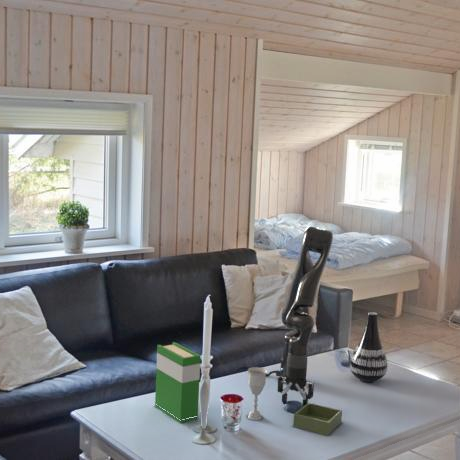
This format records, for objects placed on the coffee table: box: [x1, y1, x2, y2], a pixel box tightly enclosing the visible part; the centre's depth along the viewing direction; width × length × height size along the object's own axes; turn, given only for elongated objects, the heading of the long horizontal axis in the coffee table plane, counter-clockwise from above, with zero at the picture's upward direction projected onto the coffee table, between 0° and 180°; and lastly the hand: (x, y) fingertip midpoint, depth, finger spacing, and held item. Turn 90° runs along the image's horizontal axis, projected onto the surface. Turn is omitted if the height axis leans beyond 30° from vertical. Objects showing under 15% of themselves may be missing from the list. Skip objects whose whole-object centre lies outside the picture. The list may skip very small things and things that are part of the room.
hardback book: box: [154, 341, 202, 424], centre depth 286 cm, size 18×7×24 cm, turn 37°
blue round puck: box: [285, 400, 303, 414], centre depth 297 cm, size 6×6×2 cm
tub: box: [292, 402, 343, 436], centre depth 283 cm, size 13×13×5 cm
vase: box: [349, 311, 389, 384], centre depth 331 cm, size 16×16×30 cm
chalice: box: [247, 366, 268, 421], centre depth 286 cm, size 7×7×18 cm
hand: (294, 405), depth 296 cm, fingers open, 7 cm apart
